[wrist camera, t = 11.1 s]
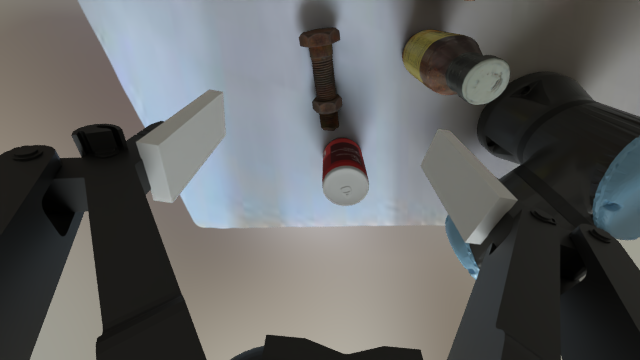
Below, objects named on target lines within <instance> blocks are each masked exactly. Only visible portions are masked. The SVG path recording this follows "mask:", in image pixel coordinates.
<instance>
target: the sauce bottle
mask: <svg viewBox="0 0 640 360" xmlns="http://www.w3.org/2000/svg"><path fill="white" fill-rule="evenodd" d="M402 58H403V63H404V65H405V68H406V69H407V70H408V71H409V73H411V74H412V75H413V76H414V77H415V78H417V79H418V80H419V81H420V82H422V83H423V84H424V85H425V86H427V87H428V88H430V89H432V90H433V91H435V92H436V93H439V94H442V95H453V94H458V95H459V96H460V97H461V98H462V99H464V100H465V101H466V102H468V103H470V104H474V105H479V104H485V103H488V102H490V101H492V100H494V99H495V98H497V97H498V96H499V95H500V94H501V93H502V92H503V91H504V90H505V88H506V86H507V84H508V82H509V78H510V68H509V65H508V64H507V62H506V61H504V60H502V59H500V58H498V57H496V56H491V55H484V56H483V55H482V53H481V50H480V48H479V45H478V44H477V42H476V41H475V40H474V39H472V38H470V37H468V36H465V35H460V34H453V33H448V32H443V31H437V30H424V31H421V32H419V33H417V34H415V35H413V36H412V37H411V38H410V39H409V40H408V42H407V43H406V45H405V48H404V50H403V53H402Z"/></svg>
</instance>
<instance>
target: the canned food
mask: <svg viewBox="0 0 640 360" xmlns="http://www.w3.org/2000/svg"><path fill="white" fill-rule="evenodd" d="M322 181H323V192H324V194H325V196H326V197H327V199H328V200H330V201H331V202H332V203H334V204H337V205H341V206H350V205H354V204H356V203H359V202H360V201H361V200H363V199H364V198H365V196H366V195H367V193H368V190H369V181H368V176H367V172H366V168H365V164H364V160H363V156H362V152H361V150H360V148H359V146H358V145H357V144H356V143H355V142H354V141H352V140H350V139H347V138H338V139H335V140H333V141H331V142H330V143H329V144H328V145H327V147H326V148H325V150H324V153H323V179H322Z"/></svg>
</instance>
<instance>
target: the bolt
mask: <svg viewBox="0 0 640 360" xmlns="http://www.w3.org/2000/svg"><path fill="white" fill-rule="evenodd" d="M339 40H340V33H339V30H338V29H336V28H334V27H332V28H322V29H315V30H311V31H307V32H303V33H302V34H301V35H300V37H299V41H300V46H303V47H308V48H309V52H310V57H311V60H312V62H313V63H312V67H313V69H314V70H313V74H314V81H315V87H316V88H315V89H316V91H317V92H316V93H317V94H316V95H317V97H315V98H314V100H313V102H312V104H313V109H314V110H315V111H316V112H317V113H319V115H320V122H321V128H322V129H323V130H330V131H333V130H335V129H337V128H338V127H339V121H338V110H339V109H340V108H341V106H342V98H341V97H340V96H339V95H338V94H336V88H335V80H334V79H335V78H334V68H333V61H332V60H333V59H332V58H333V56H332V54H333V50H332V43H335V42H337V41H339Z"/></svg>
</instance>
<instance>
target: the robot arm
mask: <svg viewBox="0 0 640 360" xmlns="http://www.w3.org/2000/svg"><path fill="white" fill-rule="evenodd" d="M477 134H478V139H479V141H480V143H481V145H482V146H483V147H484V148H485V149H486V150H488V151H489V152H490V153H491V154H493V155H494V156H496V157H498V158H501V159H504V160H508V161H511V162H514V163H517V164H520V166H518V167H517V168H515V169H514V170H512V171H511V172H509V173H508V174H506V175H505V176H503V177H502V178H500V179H498V178H496V177H495V176H494V175H493V174H492V173H491V172H490V171H489V170H488V169H487V168H486V167H485V166H484V165H483V164H482V163H481V162H480V161H479V160H478V159H477V158H476V157H475V156H474V155H473V154H472V153H471V152H470V151H469V150H468V149H467V148H466V147H465V146H464V145H463V144H462V143H461V141H460V140H459V139H458V138H457V137H456V136H455V135H454V134H453V133H452V132H451V131H448V130H443V129H438V130H437V132H436V135H435V137H434V139H433V141H432V143H431V145H430V147H429V149H428V151H427V153H426V155H425V157H424V159H423V162H422V164H421V168H422V169H423V171H424V173H425V175H426V176H427V178H428V180H429V181H430V183H431V185H432V187H433V188H434V190H435V192H436V193H437V195H438V197H439V199H440V200H441V202H442V204H443V206H444V207H445V209H446V211H447V212H448V214H449V215H448V216H447V218H446V222H445V224H446V226H445V227H446V233H447V236H448V239H449V242H450V244H451V246H452V248H453V250H454V252H455V254H456V255H457V257H458V259H459V260H460V262H461V263H462V265H463V266H464V267H465V268H466V269H468V271H469V273H470V275H471V276H472V277H473V278H474V279H475V280H476V282H475V284H474V287H473V290H472V293H471V295H470V298H469V301H468V304H467V307H466V309H465V312H464V315H463V317H462V320H461V323H460V326H459V328H458V331H457V334H456V337H455V339H454V342H453V345H452V348H451V350H450V353H449V356H448V359H447V360H561V356H562V360H640V270H639V269H638V267H637V266H636V265H635V263H634V262H633V260H632V259H631V258H630V257H629V255H628V254H627V252H626V251H625V249H624V248H623V247H622V245H621V244H620V243H619V242H618V241H617V240H616V239H620V240H635V239H637V238H638V237H640V117H639V116H636V115H633V114H630V113H627V112H624V111H622V110H619V109H616V108H613V107H610V106H607V105H604V104H601V103H599V102H596V101H594V100H593V99H592V98H591V97H590V95H589V94H588V93H587V92H586V91H585V90H584V89H583V88H582V87H581V86H580V85H579V84H578V83H577V82H576V81H575V80H573V79H572V78H570V77H567V76H564V75H561V74H558V73H554V72H538V73H533V74H529V75H526V76H523V77H521V78H519V79H517V80H515V81H513V82H511V83H510V84H508V85H507V86H506V88H505V90H504V91H503V92H502V93H501V94H500V95H499V96H498V97H497V98H495V99H494V100H492V101H490V102H489V103H488V104H487V105H486V107H485V108H484V110H483V112H482V114H481V116H480V119H479V122H478V127H477ZM225 135H226V131H225V116H224V101H223V92H221V91H215V90H208V91H207V92H205V93H204V94H203V95H201V96H200V97H198V98H197V99H196V100H194V101H193V102H191V103H190V104H189V105H187V106H186V107H184V108H183V109H182V110H180V111H179V112H177V113H176V114H175V115H173V116H172V117H170V118H169V119H168V120H166V121H165V122H164V121H160V122H157V123H154V124H151V125H149V126H148V127H146V128H145V129H143V131H140V132H139V133H137V135H134V136H133V137H131V138H130V139H128V140H127V141H126V140H125V137H124V134H123V131H122V129H121V128H120V127H119V126H116V125H111V124H94V125H88V126H84V127H81V128H78V129H77V130H75V131H73V133H72V138H73V139H74V142H75V144H76V146H77V148H78V150H79V152H80V154H81V156H82V158H59V156H58V154H57V152H56V151H55V149H54V148H52V147H49V146H45V145H33V146H22V147H17V148H14V149H12V150H10V151H7V152H5V153H3V154H1V155H0V360H30V357H31V354H32V351H33V349H34V346H35V344H36V341H37V338H38V335H39V333H40V330H41V327H42V325H43V322H44V319H45V317H46V314H47V311H48V308H49V306H50V303H51V300H52V298H53V295H54V292H55V290H56V287H57V284H58V282H59V279H60V276H61V274H62V271H63V268H64V265H65V263H66V260H67V257H68V255H69V252H70V249H71V246H72V244H73V241H74V238H75V236H76V233H77V230H78V228H79V225H80V222H81V220H82V217H83V214H84V212H85V211H88V212H89V219H90V228H91V236H92V244H93V251H94V260H95V268H96V276H97V284H98V292H99V300H100V308H101V316H102V324H103V333H102V335H101V336H99V337H98V338H97V342H96V360H206V357H205V354H204V352H203V349H202V346H201V343H200V341H199V338H198V335H197V333H196V330H195V327H194V324H193V322H192V319H191V316H190V314H189V311H188V308H187V305H186V303H185V300H184V298H183V296H182V294H181V291H180V288H179V286H178V283H177V280H176V278H175V275H174V272H173V269H172V267H171V264H170V261H169V258H168V256H167V253H166V250H165V247H164V245H163V242H162V239H161V237H160V234H159V231H158V228H157V225H156V223H155V220H154V217H153V215H152V212H151V209H150V206H149V204H148V201H147V198H146V194H147V193H148V192H149V191H150V190H151V192H152V196H153V199H154V201H161V202H169V203H173V202H174V201H175V199H176V198H177V197H178V195H179V194H180V193H181V192H182V190H183V189H184V188H185V187H186V185H187V184H188V183H189V181H190V180H191V179H192V178H193V176H194V175H195V174H196V173H197V171H198V170H199V169H200V167H201V166H202V165H203V164H204V162H205V161H206V160H207V158H208V157H209V156H210V155H211V153H212V152H213V151H214V150H215V148H216V147H217V146H218V144H219V143H220V142H221V141H222V139H223V138H224V137H225ZM231 360H423V358H422V354H421V350H418V349H407V348H398V347H388V346H383V347H378V348H374V349H370V350H366V351H361V352H356V353H352V354H342V353H340V352H338V351H335V350H333V349H330V348H328V347H325V346H323V345H320V344H318V343H315V342H313V341H311V340H308V339H305V338H296V337H285V336H275V335H266V339H265V345H264V346H261V347H257V348H253V349H251V350H248V351H245V352H243V353H241V354H239V355H237V356H235V357H234V358H232V359H231Z"/></svg>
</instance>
